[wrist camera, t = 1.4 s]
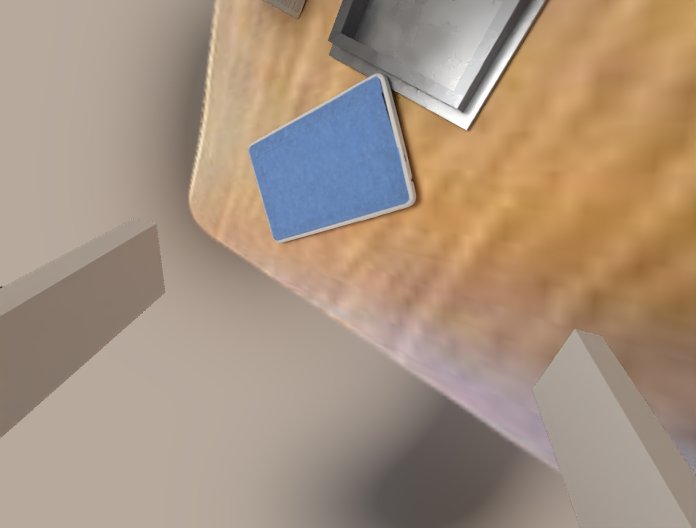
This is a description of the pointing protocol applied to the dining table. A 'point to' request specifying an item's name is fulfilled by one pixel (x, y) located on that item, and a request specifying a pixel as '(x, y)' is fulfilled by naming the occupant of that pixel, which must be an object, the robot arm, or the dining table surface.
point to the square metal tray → (435, 47)
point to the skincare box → (288, 6)
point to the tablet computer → (334, 163)
